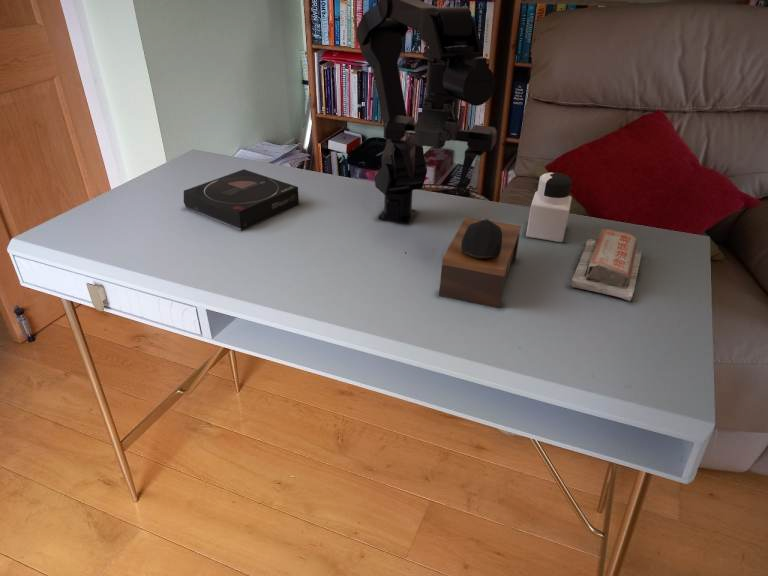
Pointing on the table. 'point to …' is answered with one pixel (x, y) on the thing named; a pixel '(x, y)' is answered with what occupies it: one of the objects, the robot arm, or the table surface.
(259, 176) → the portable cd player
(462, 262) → the walnut wood stand
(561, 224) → the medicine bottle
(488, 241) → the gaming mouse
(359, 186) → the table surface
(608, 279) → the packaged product
